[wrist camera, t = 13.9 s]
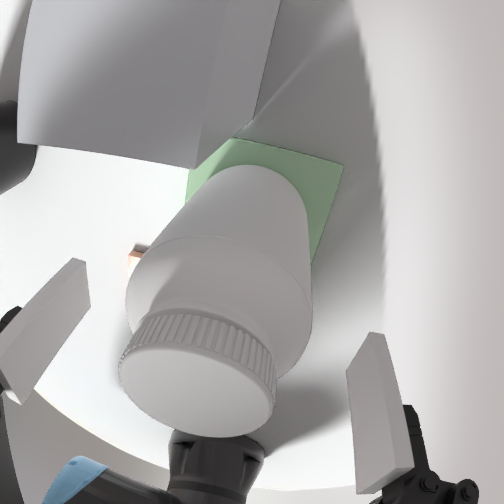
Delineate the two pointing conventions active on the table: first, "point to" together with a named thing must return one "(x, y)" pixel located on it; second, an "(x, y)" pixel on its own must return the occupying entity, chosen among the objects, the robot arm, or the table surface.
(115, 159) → the table surface
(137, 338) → the pill bottle
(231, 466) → the robot arm
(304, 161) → the green pad
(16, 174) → the water bottle
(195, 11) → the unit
